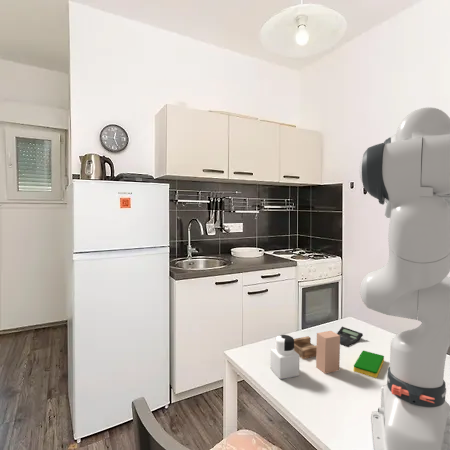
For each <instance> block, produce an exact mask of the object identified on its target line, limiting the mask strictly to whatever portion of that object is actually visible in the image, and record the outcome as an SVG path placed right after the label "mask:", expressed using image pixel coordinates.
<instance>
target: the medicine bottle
mask: <svg viewBox="0 0 450 450" xmlns="http://www.w3.org/2000/svg"><path fill="white" fill-rule="evenodd" d="M294 339H295V338H294V337H293V336H290V335H288V334H281V335H280V334H279V335H277V336H276V338H275V347H273V348H270V360H269V361H270V364H269V365H270V370H271V371H272V372H273V373H274V374H275V376H276V377H277V378H278V379H280V380H284V379H289V378H295V377H299V376H300V358H301V357H300V356H299V354H298V353H296V352H295V351H294Z"/></svg>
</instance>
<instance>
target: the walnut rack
mask: <svg viewBox="0 0 450 450" xmlns="http://www.w3.org/2000/svg"><path fill="white" fill-rule="evenodd" d="M293 339H294V351H295V352H296V353H298V354H299V356H300V357H299V358H301V359H302V360H304V359H311V358H314V357H316V350H317V344H316V345H314V344H313V343H311V337H310V336H303V337H297V338H293Z"/></svg>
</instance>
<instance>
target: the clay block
mask: <svg viewBox="0 0 450 450" xmlns="http://www.w3.org/2000/svg"><path fill="white" fill-rule="evenodd" d="M316 345H317V350H316V356H315V357H316V359H315V361H316V362H315V363H316V364H315V368H316V369H318V370H319V371H320V372H322V373H323V374H325V375H327V374H330V373H335V372H338V371H340V360H341V359H340V358H341V356H340V354H341V353H340V352H341V350H340V349H341V344H340V335H338V334H337V332H334V331H332V330H326V331H322V332H317V333H316Z"/></svg>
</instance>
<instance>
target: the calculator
mask: <svg viewBox="0 0 450 450" xmlns="http://www.w3.org/2000/svg"><path fill="white" fill-rule="evenodd" d="M336 334H338V335H340V346H344V347H345V348H349V347H350V346H353V345H354V344H356V343H358V342H360V340H361V339H362V337H363V333H362V332H359V331H356V330H353V329H350V328H347V327H345V326H341V327H340V329H339V330H338V331H337V332H336ZM352 344H353V345H352Z"/></svg>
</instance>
